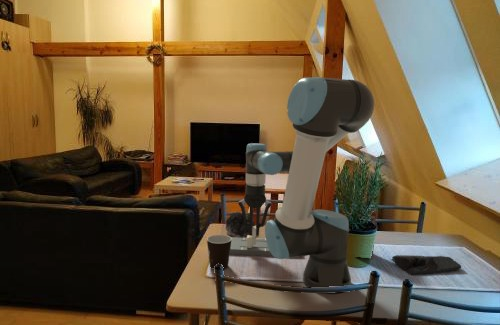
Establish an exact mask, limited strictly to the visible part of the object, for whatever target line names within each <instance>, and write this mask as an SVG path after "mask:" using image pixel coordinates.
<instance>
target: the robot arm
mask: <svg viewBox="0 0 500 325" xmlns="http://www.w3.org/2000/svg"><path fill="white" fill-rule="evenodd" d="M286 109H287V112H286V115H287V118H288V119H289V121H290V122H291V123H292V126H291V127H292V129H293V131H294V132H295V133H296V135H295V140H294V146H293V150H292V151H288V150H287V151H268V150H267V145H266V144H265V143H258V142H257V143H253V142H251V143H248V144H247V145H246V150H245V151H246V152H245V161H246V162H245V183H246V185H245V192H244V197H243V199H241V200H239V201H238V206H239V207H240V211H241V213H242V215H243V219H244V224H245V226H248V227H249V235H250V236H252V245H256V238H257V237H259V236H260V228H262V227H264V235H265V238H266V241H267V245H268V248H269V250H270V252H271V254H272V255H273V256H272V257H274V258H275V259H277V260H283V259H286V260H289V259H292V258H302V257H306V256H307V257H308V260H307V262H306V265H305V267H304V270H303V274H302V281H303V283H304V285H306V286H307V287H308V288H309V287H329V286H344V285H351V286H352V277H351V273H350V270H349V266H348V262H347V259H348V258H347V256H348V242H349V232H350V228H349V223H350V221H349V218H348V217H347V216H346V215H344V214H342V213H340V212H336V211H334V210H333V211H331V210H329V209H328V210H327V209H319V208H318V209H313V208H314V202H315V199H316V195H317V191H318V186H319V182H320V178H321V174H322V170H323V165H324V162H325V158H326V153H327V152H329V150H330V149H332V148H333V147H335V145H337V144H338V143H339V142H340V141H341V140H342V139H344V138H345V137H346V136H348V135H349V134H353V133H357V132H358V131H359V130H360V129H362V128H363V127H364V126H365V125H367V123H368V122H369V121H370V120H371V118H372V115H373V113H374V110H375V98H374V95H373V93H372V91H371V90H370V88H369V87H368V86H367V85H366V84H364V83H363V82H362V81H359V80H357V79H343V78H342V79H341V78H332V77H320V76H316V77H303V78H301V79H299V80H298V81H297V82H296V83H294V86H293V87H292V89H291V91H290V93H289V96H288V98H287V103H286ZM278 173H279V174H280V173H281V174H282V173H288V176H287V181H286V185H285V191H284V196H283V201H282V205H281V207H279V208H277V210H276V211H275V214H274V215H275V216H274V219H270V220H267V215H268V212H269V209H270V208H271V207H272V202H271V201H269V200H267V197H266V175H268V176H274V175H277V174H278ZM245 204H246V205H247V206H248V208H249V217H250V221H249V222H248V219H247V215H248V214H247V211H246V206H245ZM263 205H265V207H264V210H263V214H262V218H260V217H261V215H260V214H261V208H262V207H263ZM254 209H256V210H255V211H256V215H255V216H256V217H255V218H256V220H255V223H256V224H255V226H253V221H254ZM260 219H261V222H260ZM266 220H267V221H266ZM301 256H302V257H301Z"/></svg>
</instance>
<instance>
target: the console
mask: <svg viewBox="0 0 500 325" xmlns="http://www.w3.org/2000/svg"><path fill="white" fill-rule="evenodd" d="M231 238H232V240H231V248H230V255H238V256H239V255H240V256H241V255H243V256H266V257H267V256H268V257H274V256H273V255H272V254H271V252H270V250H269V248H268V245H267V241H266V237H264V238H257V237H256V245H252V248H247V237H246V236H245V237H241V238H237V237H234V236H232V237H231ZM300 258H303V256H301V257H300Z"/></svg>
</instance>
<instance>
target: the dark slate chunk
mask: <svg viewBox="0 0 500 325" xmlns="http://www.w3.org/2000/svg"><path fill="white" fill-rule="evenodd" d="M390 260H391V261H392V262H393V263H395V266H396V267H398V268H399V269H400V270H402V271H404V272H406V273H408V274H409V275H410V276H412V275H413V276H417V275H431V274H435V273H445V272H446V273H447V272H453V271H456V270H461V269H462V265H461V264H460V263H458V262H457V261H456V260H454V259H453V257H451V256H447V255H446V256H443V255H437V256H435V255H434V256H433V255H432V256H426V255H424V256H423V255H413V254H411V255H407V254H406V255H405V254H403V255H402V254H401V255H400V254H399V255H398V254H397V255H393V256H392V257H391V258H390Z"/></svg>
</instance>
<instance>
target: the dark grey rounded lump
mask: <svg viewBox="0 0 500 325" xmlns="http://www.w3.org/2000/svg"><path fill="white" fill-rule="evenodd" d="M246 215H247V219H248V222H249V221H250V216H249V215H248V214H246ZM253 226H256V224H255V221H254V220H253ZM225 230H226V233H227V235H228V236H232V237H236V238H244V237H245V238H246V237H247V235H249V227H248V226H245V224H244V219H243V215H242V212H239V211H235V212H231V213H230V215H229V217H227V219H226V220H225Z"/></svg>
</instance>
